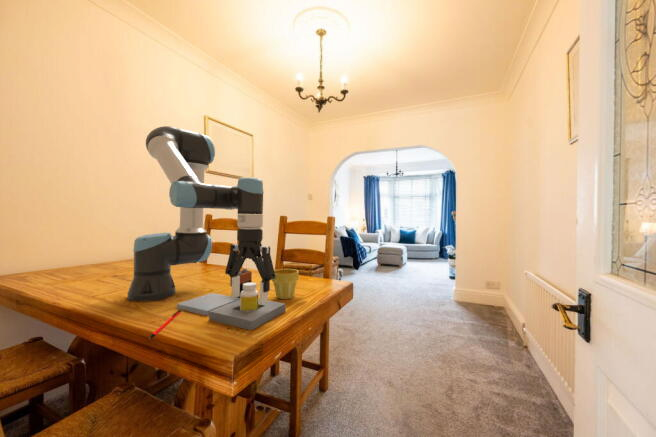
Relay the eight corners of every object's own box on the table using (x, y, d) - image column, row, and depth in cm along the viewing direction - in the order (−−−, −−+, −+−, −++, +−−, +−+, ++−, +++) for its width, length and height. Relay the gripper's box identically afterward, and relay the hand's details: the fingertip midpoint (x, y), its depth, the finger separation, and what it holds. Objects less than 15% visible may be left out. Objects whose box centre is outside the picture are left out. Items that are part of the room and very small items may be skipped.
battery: (251, 294, 103) (252, 268, 103) (240, 299, 97) (240, 272, 97) (242, 293, 105) (243, 267, 105) (230, 297, 98) (231, 271, 98)
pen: (181, 312, 84) (182, 308, 84) (151, 340, 65) (151, 335, 65) (178, 312, 84) (179, 308, 84) (147, 340, 65) (147, 335, 65)
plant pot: (266, 295, 102) (266, 270, 102) (289, 291, 108) (290, 267, 108) (279, 302, 94) (279, 275, 94) (303, 297, 100) (303, 271, 100)
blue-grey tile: (177, 308, 86) (177, 303, 86) (211, 296, 99) (211, 292, 99) (207, 315, 81) (207, 310, 81) (240, 302, 93) (240, 298, 93)
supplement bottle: (260, 316, 81) (260, 284, 80) (242, 320, 78) (242, 287, 78) (255, 311, 85) (255, 280, 85) (237, 314, 82) (238, 282, 82)
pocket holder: (209, 319, 78) (209, 311, 77) (247, 303, 92) (247, 296, 92) (251, 330, 71) (251, 321, 71) (285, 311, 85) (285, 303, 85)
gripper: (213, 227, 83) (212, 297, 83) (273, 230, 73) (272, 309, 73) (231, 226, 89) (230, 291, 90) (288, 229, 80) (287, 301, 80)
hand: (249, 299), depth 81 cm, fingers open, 10 cm apart
